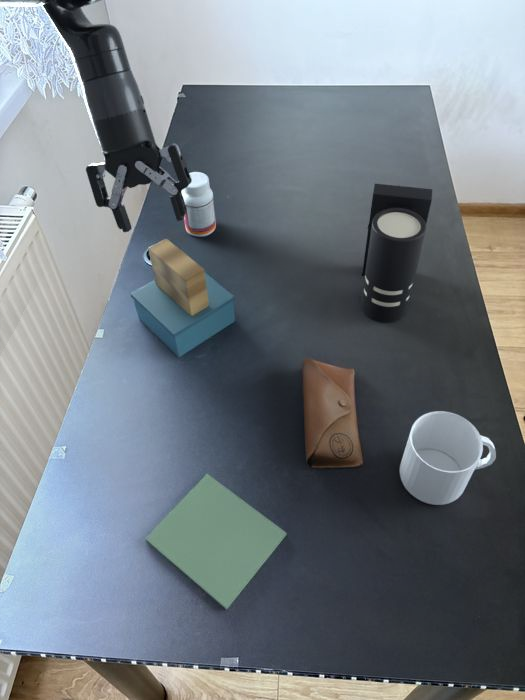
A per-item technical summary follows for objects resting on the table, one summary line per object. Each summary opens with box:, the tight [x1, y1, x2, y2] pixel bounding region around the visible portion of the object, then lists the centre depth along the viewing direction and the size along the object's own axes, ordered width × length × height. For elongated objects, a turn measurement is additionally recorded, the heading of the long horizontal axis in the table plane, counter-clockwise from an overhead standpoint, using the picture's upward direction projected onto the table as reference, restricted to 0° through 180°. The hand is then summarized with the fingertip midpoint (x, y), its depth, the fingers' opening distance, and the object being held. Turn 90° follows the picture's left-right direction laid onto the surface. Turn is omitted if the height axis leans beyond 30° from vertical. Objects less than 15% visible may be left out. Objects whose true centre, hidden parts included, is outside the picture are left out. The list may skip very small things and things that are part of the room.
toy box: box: [130, 272, 236, 358], centre depth 101 cm, size 12×12×6 cm
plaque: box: [147, 238, 209, 316], centre depth 96 cm, size 10×4×8 cm, turn 41°
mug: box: [399, 410, 497, 506], centre depth 79 cm, size 12×9×9 cm
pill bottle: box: [182, 171, 217, 238], centre depth 115 cm, size 6×6×11 cm
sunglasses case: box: [301, 357, 364, 469], centre depth 89 cm, size 18×7×7 cm
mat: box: [145, 473, 288, 610], centre depth 78 cm, size 12×14×1 cm
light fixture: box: [360, 183, 433, 323], centre depth 99 cm, size 10×14×18 cm
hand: (154, 224), depth 89 cm, fingers open, 8 cm apart
